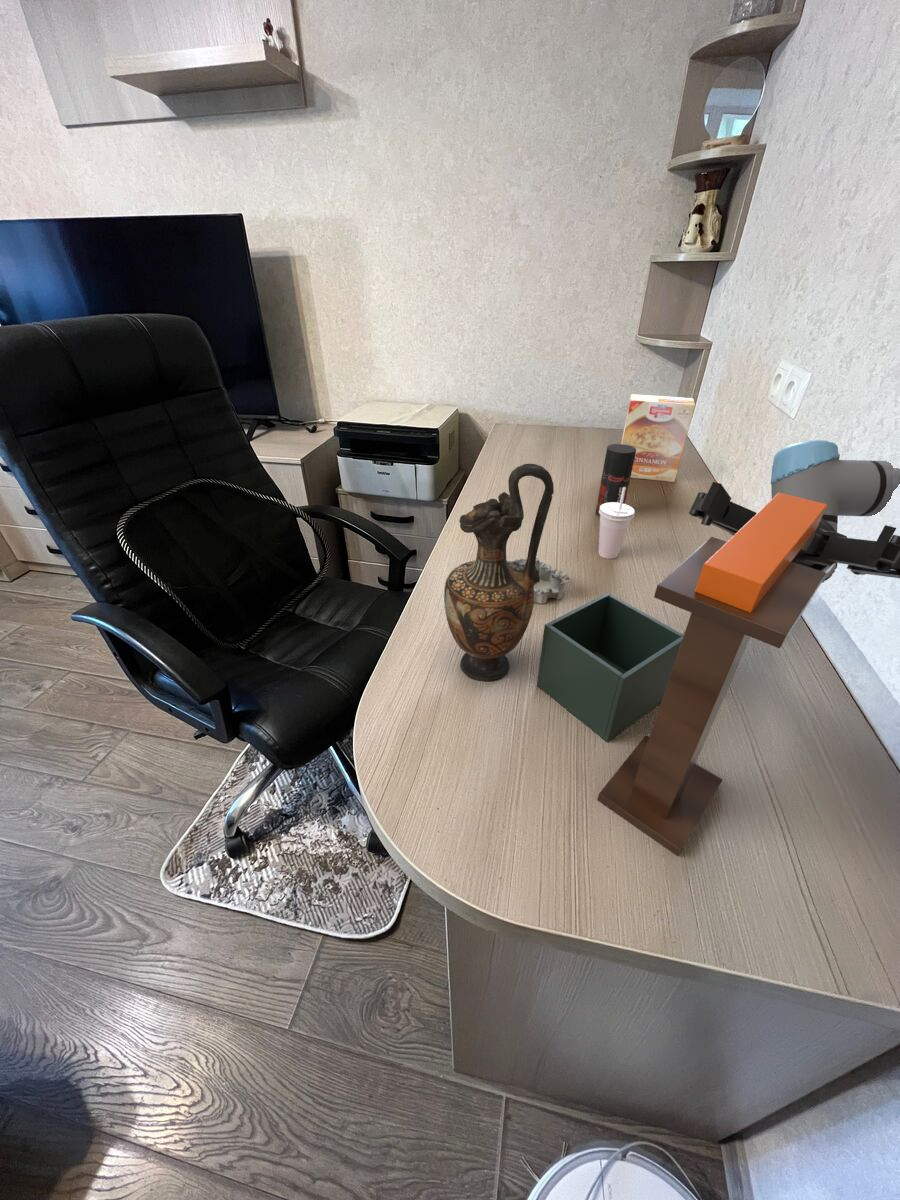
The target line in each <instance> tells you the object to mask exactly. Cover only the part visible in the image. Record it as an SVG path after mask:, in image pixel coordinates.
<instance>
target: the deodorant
mask: <svg viewBox="0 0 900 1200" xmlns="http://www.w3.org/2000/svg"><path fill="white" fill-rule="evenodd" d="M635 454H636V448H635V447H633V446H630V445H625V444H621V443H613V444H608V445H606V451H605V457H604V463H603V467H602V474H601V478H600V479H601V480H600V485H599V491H598V496H597V502H596V507H595V515H596V516H597V517H599V518H600V514H599V510H600V506H601V505H602V504H605V503H609V502H617V503H620V499H621V494H622V489H623V487H626V490H625V495H624V500H623V504H626V500H627V497H628V491H629V487H630V482H631V478H630V477H631V473H632V468H633V463H634V459H635Z"/></svg>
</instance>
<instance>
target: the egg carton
mask: <svg viewBox="0 0 900 1200" xmlns="http://www.w3.org/2000/svg"><path fill="white" fill-rule="evenodd" d="M507 562H509V563H512V564H515V565H516V566H518V567H520V568H521V569H523V570H524V568H525V565H526V562H527V557H525V558H520V559H517V558H516V559H514V560H507ZM535 565H536V569H537V571H538V572H539V575H540V581H539V582H537V583H535V584H534V604H535V603H537V604H541V605H543V604H547V600H548V599H551V598H553V599H555V600H561V599H563V595H564V591H565V587H566V583H567V582H570V580H571V579H570V576H568V575H567V573H565V572H564V571H561V570H560V571H559V570H557V568H553V567H552V566H551V565H550V564H548V563H544V562H543V561H540V559H539V558H538V557H536V564H535Z"/></svg>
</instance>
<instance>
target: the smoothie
mask: <svg viewBox="0 0 900 1200" xmlns="http://www.w3.org/2000/svg"><path fill="white" fill-rule="evenodd" d="M625 490H626V487H623V489H622V494H621V499H620V503H617V502H609V503H605V504H602V505H601V506H600V510H599V514H600V517H599V532H598V533H599V536H598V555H599V556H600V557H601V558H603V559H606V560H607V559H608V560H613V559H616V558H618V556H619V554H620V550H621V548H622V546H623V543H624V540H625V537H626V534H627V531H628V529H629V526H630V524H631V521H632V520H633V519H634V517H635V512H636V511H635V509H634V507H632V506H631V505H629V504H626V503H625V504H623V500H624V495H625Z"/></svg>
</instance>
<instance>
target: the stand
mask: <svg viewBox="0 0 900 1200" xmlns="http://www.w3.org/2000/svg"><path fill="white" fill-rule="evenodd" d="M726 542H728V540H723V539H720V538H717V537H714V536H710V537H709V538H708V539H707V540H706V541H705V542H704V543H703V544H701V546H699V547H698V548H697V549H696V550H695V551H694V552H692V553H691V554H690V555H689V556H688V557H687V558H686V559H685V560H683V562H681V563H680V564H679V565H678V566H677V567H676V568H675V569H674V570H673V571H671V572H670V573H669V574H668V575H667V576H666V577H664V578H663V579H662V580H661V581H660V582H659V583H658V584H657V585H656V588H655V591H654V595H653V597H654V599H656V600H659V601H661V602H664V603H667V604H668V605H671V606H674V607H676V608H679V609H681V610H684V611H686V612H688V613H690V616H689V619H688V621H687V624H686V627H685V631H684V634H683V635H684V636H683V639H682V642H681V645H680V648H679V651H678V654H677V657H676V660H675V663H674V666H673V669H672V672H671V675H670V678H669V681H668V684H667V686H666V689H665V692H664V695H663V698H662V701H661V703H660V704H659V708H658V709H657V710H658V711H657V713H656V716H655V719H654V722H653V725H652V728H651V731H650V733H649V736H648V735H645V736H644V737H642V738H641V740H640V742H639V743H638V744H637V745H636V747H635V748H634V749H633V750H632V752H630V754H629V755H628V757H627V758H626V759H625V761H624V762H622V764H621V765H620V767H619V768H618V769H617V770H616V772H615V773H614V774H613V776H611V778H610V780H609V781H608V782H607V783H606V784H605V785H604V787H602V789H601V790H600V792H599V793H598V796H597V801H598V802H599V803H601V804H602V805H604V806H605V807H606V808H608V809H610V810H611V811H612V812H614V813H615V814H616V815H618V816H620V817H621V818H622V819H623V820H625V821H627V822H628V823H630V824H631V825H632V826H634V827H635V828H637V829H638V830H640V831H641V832H643V833H644V834H646V835H647V836H648V837H649V838H651V839H652V840H654V841H655V842H656V843H658V844H660V845H661V846H663V847H664V848H666V849H667V850H668V851H670V852H671V853H673V854H674V855H675V856H677V857H679V856H680V854H681V853H682V851H683V849H684V848H685V846H686V845H687V843H688V841H689V839H690V837H691V836H692V834H693V832H694V831H695V829H696V827H697V825H698V824H699V822H700V820H701V819H702V817H703V815H704V813H705V812H706V810H707V809H708V807H709V805H710V803H711V802H712V801H713V798H714V796H715V795H716V793H717V791H718V790H719V788H720V786H721V784H722V782H723V779H722V778H721V777H720V776H717V775H716V774H715V773H713V772H711V771H709V770H708V769H705V768H703V767H702V766H700V765H698V764H697V763H696V762H697V761H698V758H699V756H700V754H701V751H702V749H703V747H704V745H705V742H706V740H707V738H708V736H709V733H710V731H711V730H712V726H713V724H714V722H715V720H716V718H717V715H718V713H719V710H720V707H721V706H722V704H723V701H724V699H725V697H726V694H727V692H728V690H729V688H730V685H731V683H732V680H733V678H734V676H735V674H736V672H737V669H738V667H739V665H740V663H741V660H742V658H743V656H744V653H745V650H746V649H747V646H748V644H749V643H750V639H751V638H753V639H755V640H757V641H759V642H763V643H765V644H767V645H769V646H772V647H775V648H776V649H781V648H782V646H783V644H784V643H785V642H786V640H787V639H788V637H789V635H790V633H791V632H792V631H793V629H794V627H795V626H796V625H797V622H798V621H799V620H800V618H801V617H802V614H803V613H804V612H805V610H806V608H807V607H808V606H809V603H810V602H811V601H812V599H813V598H814V596H815V594H817V593H816V592H817V591H818V590H819V588H820V587H821V585H822V584H823V583H822V581H823V579H824V577H825V575H826V572H822V571H819V570H816V569H813V568H810V567H806V566H803V565H800V564H797V563H794V562H790V564H789V565H788V566H787V568H786V569H785V570H784V571H783V573H782V574H781V575H780V577H779V578H778V579H777V580H776V582H775V583H774V584H773V586H772V587H771V588H770V589H769V591H768V592H767V593H766V595H765V596H764V597H763V598H762V600H761V601H760V602H759V604H758V605H757V606H756V607H755V609H754V610H753V611H752V612H751V613H749V612H747V611H744V610H741V609H739V608H736V607H734V606H731V605H728V604H726V603H723V602H720V601H718V600H715V599H713V598H710V597H707V596H705V595H702V594H700V593H697V592H695V589H696V586H697V583H698V580H699V577H700V574H701V571H702V568H703V565H704V563H705V562H707V561H708V560H709V559H710V558H711V557H712V556H713V555H714V554H715V553H716V552H717V551H718V550H719V549H720V548H721V547H722V546H723V545H724V544H725V543H726Z"/></svg>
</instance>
